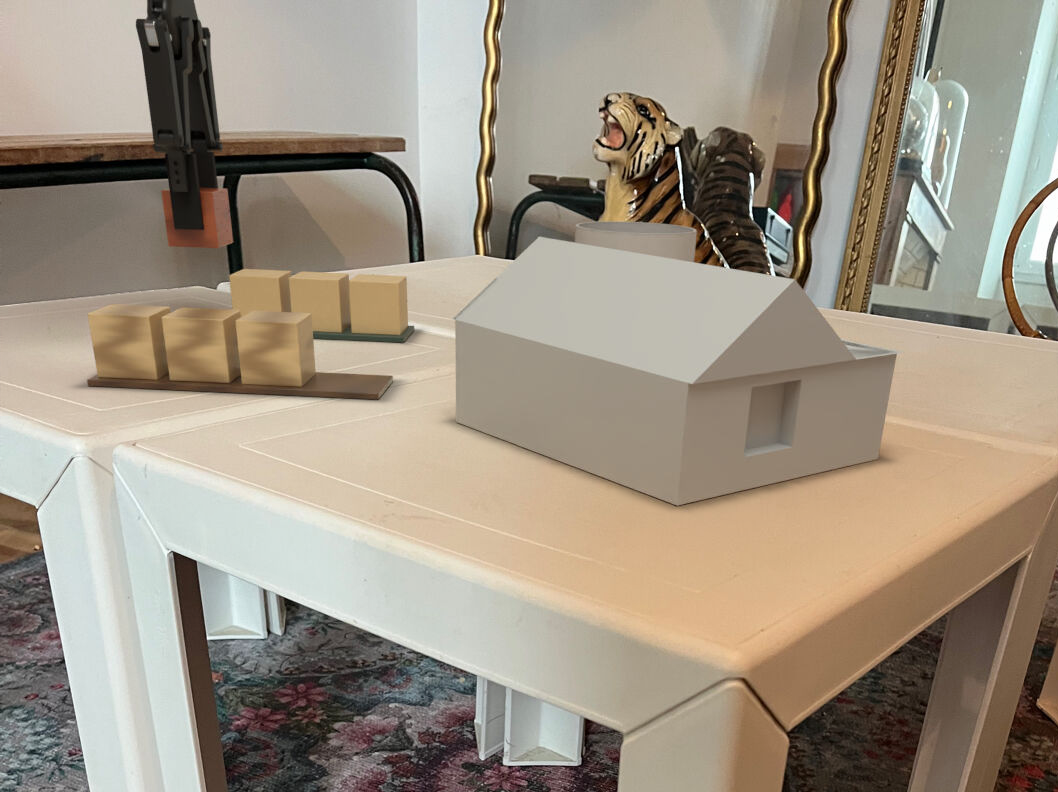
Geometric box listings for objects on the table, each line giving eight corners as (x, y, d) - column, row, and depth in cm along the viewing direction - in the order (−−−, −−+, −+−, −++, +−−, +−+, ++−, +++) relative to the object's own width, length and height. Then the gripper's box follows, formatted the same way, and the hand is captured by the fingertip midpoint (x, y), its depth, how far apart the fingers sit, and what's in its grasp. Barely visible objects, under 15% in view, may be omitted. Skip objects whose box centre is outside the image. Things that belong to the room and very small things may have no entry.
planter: (611, 345, 116) (617, 234, 111) (550, 324, 126) (553, 222, 120) (710, 338, 122) (721, 232, 117) (645, 319, 131) (652, 220, 126)
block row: (168, 331, 114) (160, 273, 111) (190, 320, 120) (184, 264, 117) (403, 342, 113) (401, 284, 111) (414, 330, 119) (412, 275, 117)
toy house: (454, 421, 86) (452, 239, 80) (651, 391, 98) (663, 231, 92) (680, 506, 70) (701, 287, 63) (885, 459, 82) (920, 269, 75)
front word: (87, 386, 92) (75, 315, 89) (120, 368, 98) (109, 301, 95) (378, 399, 92) (375, 328, 89) (393, 381, 98) (390, 314, 95)
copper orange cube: (168, 246, 111) (160, 190, 108) (185, 241, 115) (178, 186, 113) (218, 248, 111) (212, 191, 108) (233, 242, 115) (227, 188, 112)
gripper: (171, -72, 92) (207, 237, 104) (235, -47, 108) (260, 219, 120) (81, -75, 93) (127, 234, 104) (158, -50, 108) (191, 216, 120)
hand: (198, 225), depth 112 cm, fingers closed on copper orange cube, 5 cm apart
